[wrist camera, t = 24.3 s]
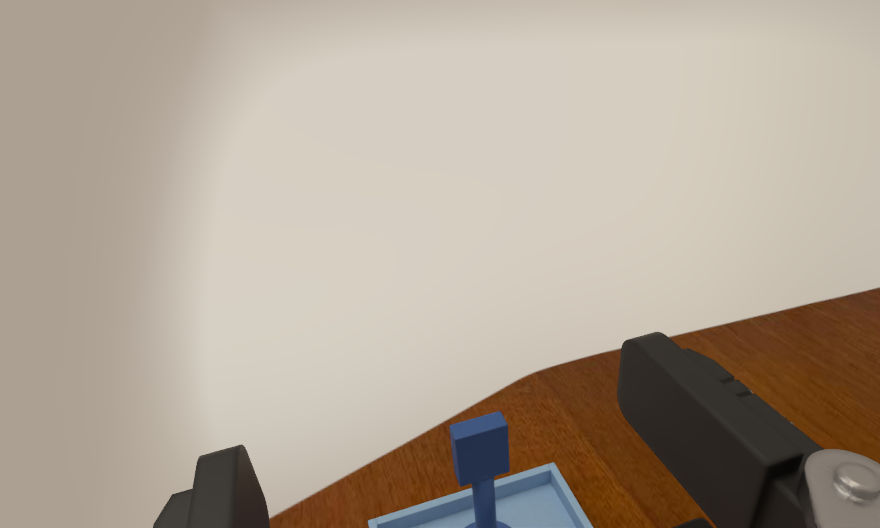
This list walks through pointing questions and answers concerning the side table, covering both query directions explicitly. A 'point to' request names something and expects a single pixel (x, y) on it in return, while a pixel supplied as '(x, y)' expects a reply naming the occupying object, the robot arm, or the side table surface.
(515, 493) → the tray
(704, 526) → the multiport hub
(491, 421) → the blue sign on stand
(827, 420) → the side table surface
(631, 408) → the robot arm
